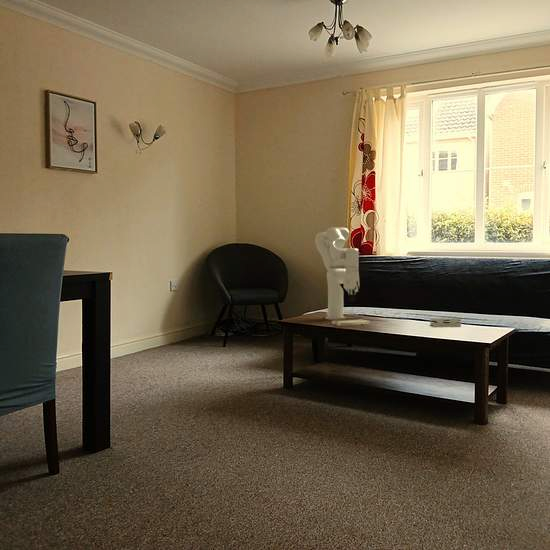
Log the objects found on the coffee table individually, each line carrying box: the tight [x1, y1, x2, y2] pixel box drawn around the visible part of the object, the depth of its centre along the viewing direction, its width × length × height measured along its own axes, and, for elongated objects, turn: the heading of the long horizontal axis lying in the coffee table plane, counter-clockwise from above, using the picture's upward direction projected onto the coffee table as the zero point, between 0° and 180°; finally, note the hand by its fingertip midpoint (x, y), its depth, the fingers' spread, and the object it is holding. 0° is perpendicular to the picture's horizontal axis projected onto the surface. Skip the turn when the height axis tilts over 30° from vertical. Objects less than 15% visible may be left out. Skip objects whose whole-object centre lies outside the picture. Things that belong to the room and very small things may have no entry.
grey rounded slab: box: [429, 317, 462, 328], centre depth 321 cm, size 17×5×10 cm
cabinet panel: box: [331, 316, 372, 327], centre depth 326 cm, size 10×20×4 cm, turn 118°
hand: (351, 301), depth 325 cm, fingers closed
